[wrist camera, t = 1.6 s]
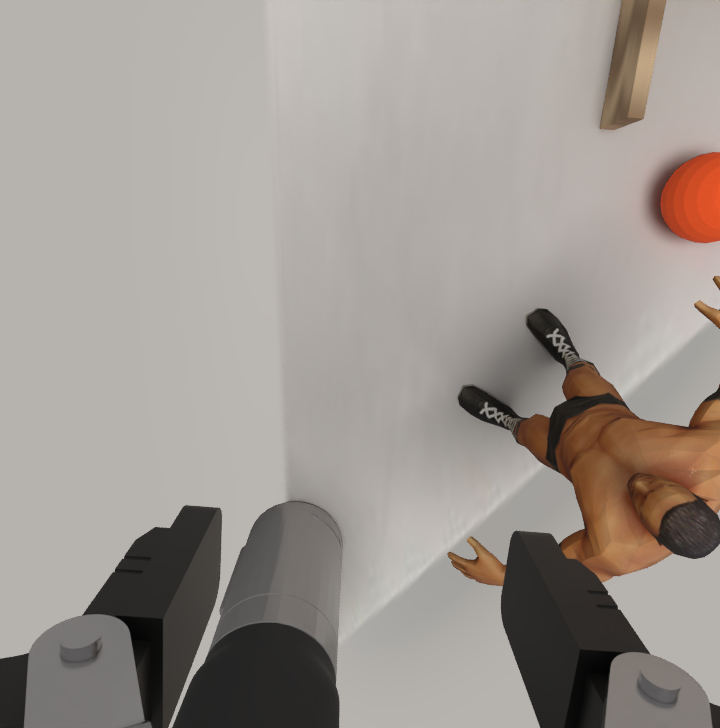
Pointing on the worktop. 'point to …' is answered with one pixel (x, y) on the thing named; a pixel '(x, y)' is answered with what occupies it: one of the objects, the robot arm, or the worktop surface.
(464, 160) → the worktop surface
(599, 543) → the figurine
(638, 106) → the bay
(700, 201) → the clementine
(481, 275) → the worktop surface
